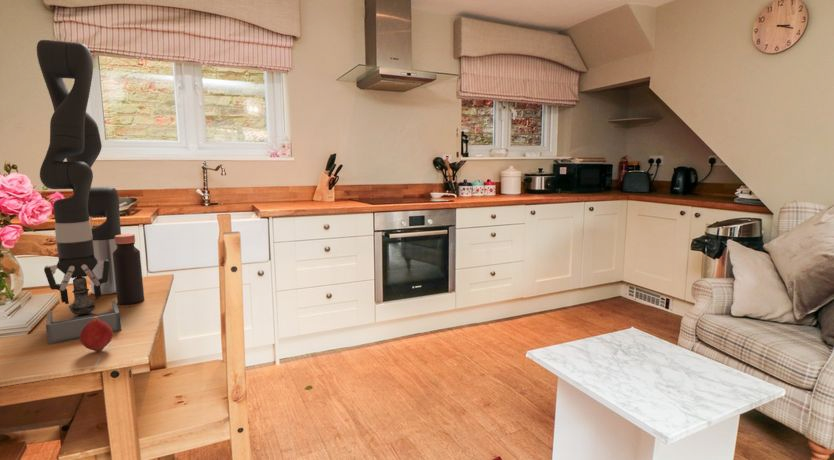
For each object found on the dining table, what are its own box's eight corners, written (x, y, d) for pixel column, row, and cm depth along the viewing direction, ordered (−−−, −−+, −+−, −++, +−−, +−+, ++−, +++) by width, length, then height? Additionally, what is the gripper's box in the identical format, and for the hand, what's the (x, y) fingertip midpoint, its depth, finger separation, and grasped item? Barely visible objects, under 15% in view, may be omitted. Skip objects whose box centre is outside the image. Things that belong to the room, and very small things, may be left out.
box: (49, 328, 111) (47, 311, 110) (117, 316, 120) (115, 300, 119) (48, 344, 102) (45, 325, 101) (121, 330, 110) (119, 312, 109)
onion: (78, 359, 94) (74, 323, 93) (86, 348, 100) (81, 314, 98) (111, 354, 97) (107, 319, 96) (116, 344, 102) (113, 310, 101)
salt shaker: (86, 321, 116) (81, 276, 114) (64, 321, 116) (58, 276, 114) (102, 313, 122) (97, 271, 120) (81, 313, 122) (76, 270, 120)
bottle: (115, 306, 128) (108, 237, 125) (119, 299, 134) (113, 234, 131) (142, 303, 131) (136, 236, 128) (146, 296, 137) (139, 232, 134)
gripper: (107, 234, 123) (113, 293, 126) (39, 239, 114) (47, 302, 117) (109, 238, 117) (115, 299, 120) (37, 244, 109) (46, 310, 111)
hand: (81, 300), depth 118 cm, fingers open, 5 cm apart
